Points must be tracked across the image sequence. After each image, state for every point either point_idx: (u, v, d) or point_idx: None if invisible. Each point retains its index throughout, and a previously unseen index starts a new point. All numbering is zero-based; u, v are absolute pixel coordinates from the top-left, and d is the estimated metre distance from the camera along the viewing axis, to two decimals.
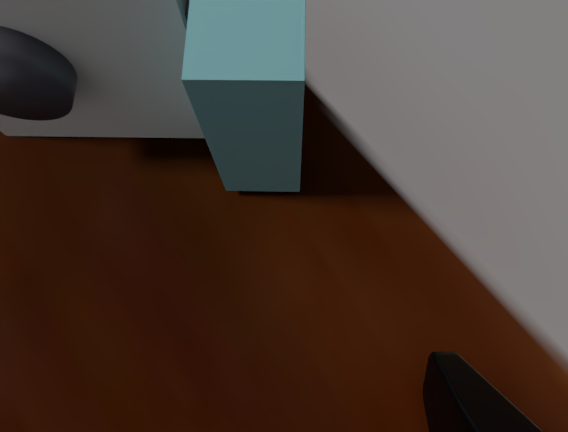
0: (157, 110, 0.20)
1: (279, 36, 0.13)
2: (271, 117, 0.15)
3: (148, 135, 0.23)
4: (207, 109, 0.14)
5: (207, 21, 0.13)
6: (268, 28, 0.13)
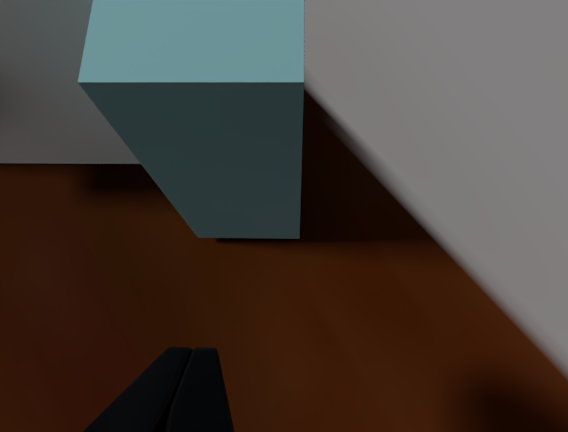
0: (100, 128, 0.14)
1: (259, 3, 0.07)
2: (249, 145, 0.09)
3: (96, 160, 0.17)
4: (140, 133, 0.08)
5: None
6: None
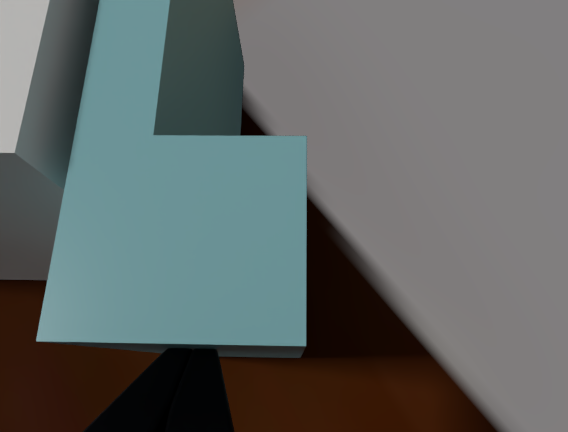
0: None
1: (252, 231, 0.06)
2: (243, 350, 0.08)
3: None
4: (117, 346, 0.07)
5: (104, 197, 0.06)
6: (229, 213, 0.06)
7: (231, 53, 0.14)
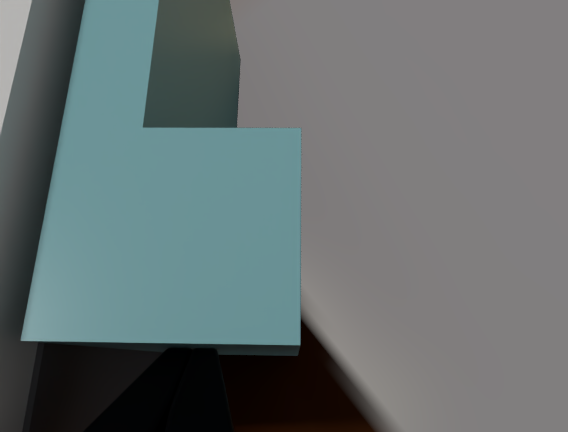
0: None
1: (245, 227, 0.06)
2: None
3: None
4: (107, 345, 0.07)
5: (91, 191, 0.06)
6: (221, 208, 0.06)
7: (226, 46, 0.14)
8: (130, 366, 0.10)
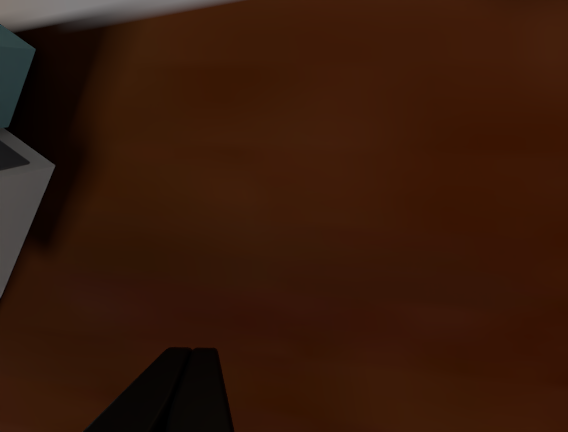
0: None
1: None
2: None
3: (23, 232, 0.20)
4: None
5: None
6: None
7: None
8: None
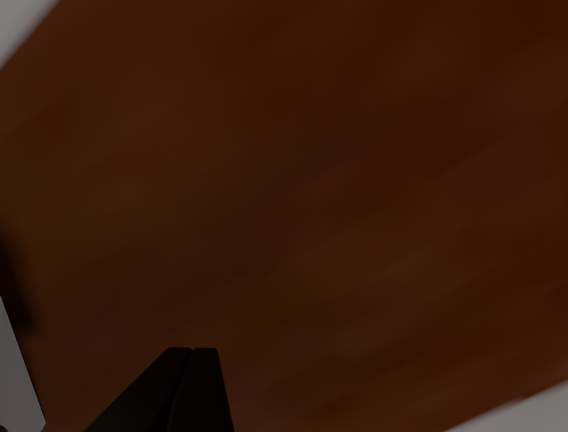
0: None
1: None
2: None
3: (7, 328, 0.23)
4: None
5: None
6: None
7: None
8: None
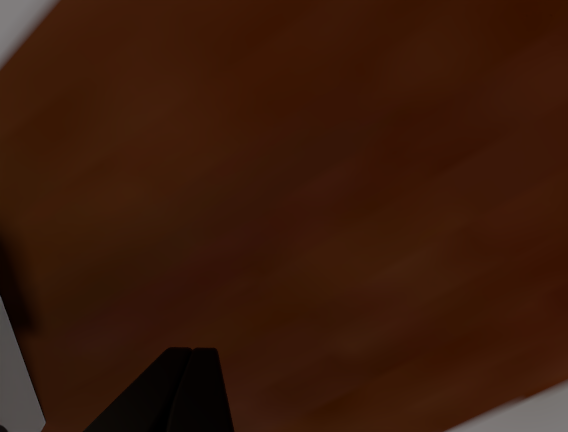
0: None
1: None
2: None
3: (7, 328, 0.23)
4: None
5: None
6: None
7: None
8: None
